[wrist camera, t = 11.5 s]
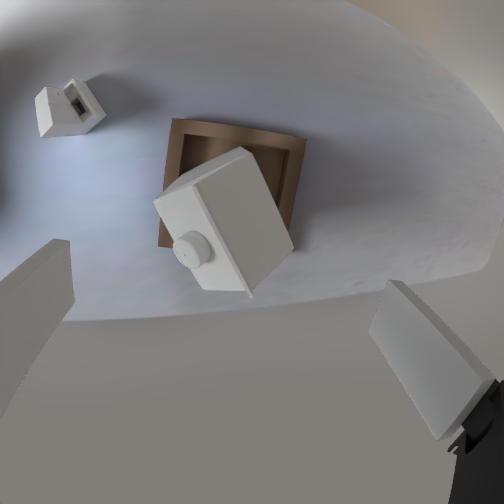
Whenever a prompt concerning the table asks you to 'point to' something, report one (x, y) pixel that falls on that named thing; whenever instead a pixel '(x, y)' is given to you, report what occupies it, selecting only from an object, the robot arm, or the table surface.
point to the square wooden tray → (225, 139)
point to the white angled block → (67, 110)
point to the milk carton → (225, 223)
